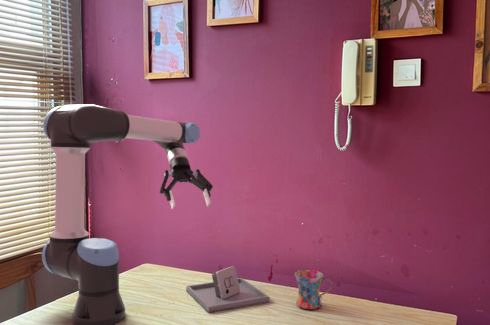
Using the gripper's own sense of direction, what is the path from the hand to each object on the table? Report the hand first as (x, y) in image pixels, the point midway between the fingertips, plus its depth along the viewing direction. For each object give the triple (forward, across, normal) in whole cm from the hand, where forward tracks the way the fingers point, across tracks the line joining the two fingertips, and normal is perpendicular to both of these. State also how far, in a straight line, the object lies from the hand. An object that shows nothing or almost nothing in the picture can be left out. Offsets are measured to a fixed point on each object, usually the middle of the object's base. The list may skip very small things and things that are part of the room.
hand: (191, 205), depth 164 cm
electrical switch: (+32, -7, -10) cm, 34 cm away
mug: (+46, -29, +4) cm, 55 cm away
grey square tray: (+32, -7, -10) cm, 34 cm away
